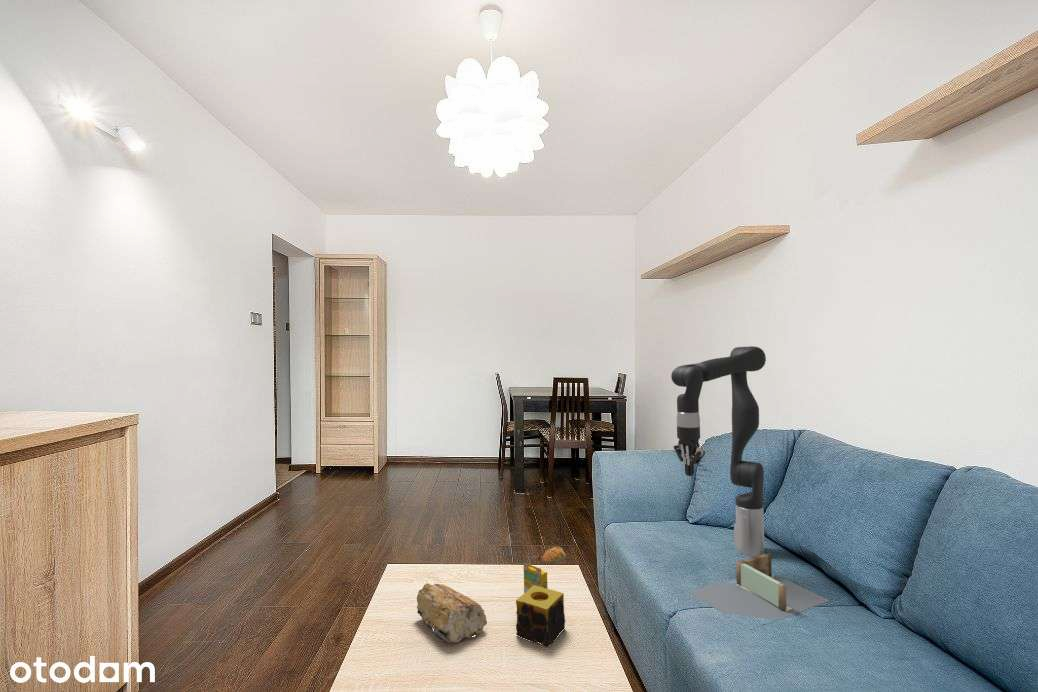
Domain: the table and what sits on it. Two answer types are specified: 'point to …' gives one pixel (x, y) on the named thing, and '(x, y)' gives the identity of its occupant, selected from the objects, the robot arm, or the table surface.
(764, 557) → the walnut fence
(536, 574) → the crayon box
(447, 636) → the petrified wood
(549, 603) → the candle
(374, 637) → the table surface
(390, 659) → the table surface
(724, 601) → the card
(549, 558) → the pastry
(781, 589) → the green panel
